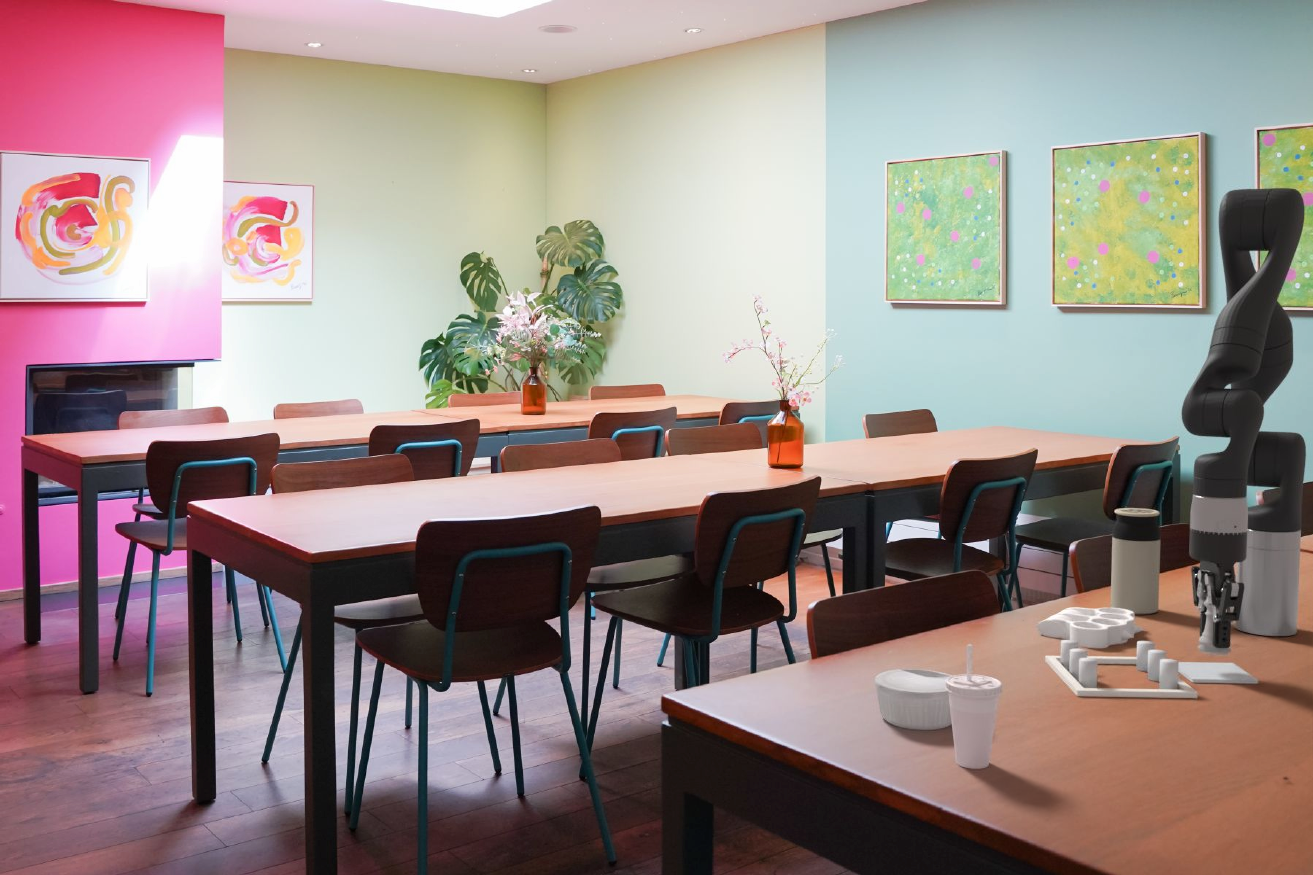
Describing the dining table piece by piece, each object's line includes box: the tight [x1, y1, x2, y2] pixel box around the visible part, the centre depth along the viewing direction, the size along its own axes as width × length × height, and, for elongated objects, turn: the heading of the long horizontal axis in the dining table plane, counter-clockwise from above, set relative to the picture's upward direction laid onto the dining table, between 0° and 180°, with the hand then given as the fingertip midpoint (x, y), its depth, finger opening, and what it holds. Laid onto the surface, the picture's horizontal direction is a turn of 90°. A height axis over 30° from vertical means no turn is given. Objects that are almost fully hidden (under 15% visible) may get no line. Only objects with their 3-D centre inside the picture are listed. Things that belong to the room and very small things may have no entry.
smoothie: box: [945, 643, 1003, 770], centre depth 139 cm, size 6×6×14 cm
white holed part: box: [1036, 606, 1145, 649], centre depth 198 cm, size 3×18×15 cm
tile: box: [1178, 661, 1259, 685], centre depth 175 cm, size 9×9×1 cm
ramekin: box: [874, 668, 953, 731], centre depth 155 cm, size 11×11×5 cm
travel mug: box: [1110, 507, 1162, 616], centre depth 215 cm, size 8×8×18 cm
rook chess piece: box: [1197, 596, 1232, 656], centre depth 174 cm, size 4×4×8 cm
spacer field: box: [1044, 639, 1199, 699], centre depth 173 cm, size 18×16×4 cm
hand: (1214, 642), depth 174 cm, fingers closed on rook chess piece, 4 cm apart
